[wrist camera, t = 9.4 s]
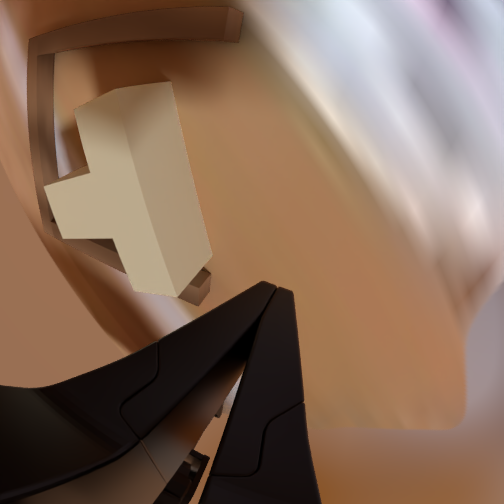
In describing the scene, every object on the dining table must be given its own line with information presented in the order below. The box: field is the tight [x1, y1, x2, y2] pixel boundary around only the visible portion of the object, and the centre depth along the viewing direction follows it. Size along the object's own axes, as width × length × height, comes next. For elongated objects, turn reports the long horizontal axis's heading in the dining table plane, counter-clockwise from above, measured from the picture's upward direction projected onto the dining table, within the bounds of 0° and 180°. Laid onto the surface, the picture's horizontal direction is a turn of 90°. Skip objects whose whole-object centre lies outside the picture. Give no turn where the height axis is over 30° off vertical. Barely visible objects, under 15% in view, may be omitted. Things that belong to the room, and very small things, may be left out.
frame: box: [27, 7, 244, 306], centre depth 16 cm, size 16×16×2 cm
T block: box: [44, 81, 213, 297], centre depth 15 cm, size 10×8×4 cm
